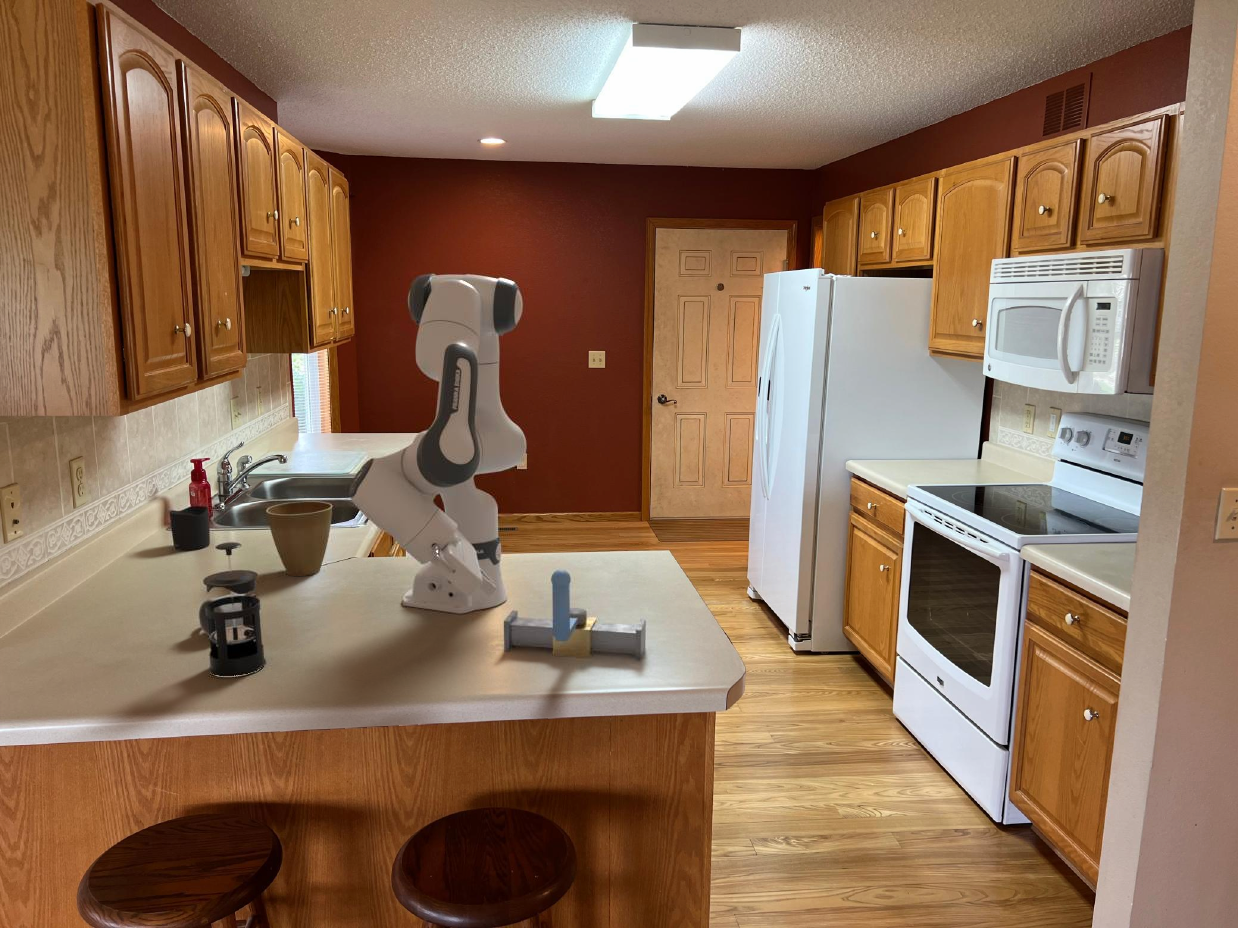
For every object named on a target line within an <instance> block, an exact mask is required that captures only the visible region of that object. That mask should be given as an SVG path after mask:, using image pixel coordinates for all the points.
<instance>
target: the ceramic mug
mask: <svg viewBox="0 0 1238 928" xmlns="http://www.w3.org/2000/svg"><path fill="white" fill-rule="evenodd" d="M245 594H246V593H245ZM245 594H237V593H234V592H233V596H244V595H245ZM225 597H231V593H230V594H226V595H222V596H218V597H217V596H216V597H212V598H208V599H206V600H204V601H203V602H202V603H201V605H200V607H199V611H198V619H199V625H200V628H201V629H202V630H203V632H204V633H205V634H206V635H207V636H209V637H210V634H209V623H208V617H207V616H206V609H205V607H206V605H207V604H208V603H210V602H212V601H215V600H217V599H221V598H225ZM234 609H235V611H241V610H242V603H234ZM214 612H233V611H232V604H226V605H222V606H219V607H216V608H214ZM235 622H236V626H239V625H243V618H238V619H235ZM225 623H226V628H227V627H231V626H234V624H233V619H231V620H225ZM215 628H216V622H215Z"/></svg>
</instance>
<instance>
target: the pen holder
mask: <svg viewBox="0 0 1238 928" xmlns="http://www.w3.org/2000/svg"><path fill="white" fill-rule="evenodd" d="M168 513H169V522H170V528H171V534H172V536H171V537H172V543H173V548H174V549H176V550H177V551H181V552H182V551H185V552H186V551H197V550H202V549H204V548H207V547H209V546H210V544H211V535H210V534H211V531H210V510H209V507H208V506H205V505H191V506H188V507H185V508H184V509H181V510H180V509H179V510H174V509H171V510H169V511H168Z"/></svg>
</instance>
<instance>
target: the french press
mask: <svg viewBox="0 0 1238 928" xmlns="http://www.w3.org/2000/svg"><path fill="white" fill-rule="evenodd" d="M240 547H242V544H241V543H240V542H233V541H230V542H228V541H227V542H223V543H220V544H217V545H216V546H215V549H216V550H220V551H225V555H226V556H227V558H228V561H227V562H228V570H227V571H220V572H216V573H213V574H210V575H208V576H206V577H204V578H203V580H202V583H203V585H205V587H206V594H208V593H209V592H211V590H212V589H214V588H223V589H225V590H228V591H230V594H231V597H225V598H221V599H217V600H215V601H212V602H210V603H208V604H207V605H206V607H205V609H206V616H207V617H208V623H209V634H210V636H209V644H210V651H209V653H208V654H209V655H208V656H209V664H210V665H209V666H210V667H209V669H208V670H209V671H210V672H211V673H212V674H214V675H219V676H234V675H235V676H236V675H243V674H248V673H251V672H254V671H257V670H258V669H260V668H262V667H264V665H265V664H266V665H267V661H266V658H265V649H264V644H263V640H262V639H263V638H262V627H261V614H260V610H261V600H260V598H258V597H257V594H254V593H251V592H252V591H254V590H256V589H257V580H258V578H259V574H258V573H257V572H256V571H253V570H246V569H245V570H244V569H238V570H237V569H235V570H232V561H231V559H232V558H231V556H232V555H233V552H232V551H233V550H234V549H235V550H236V549H239V548H240ZM233 593H237V594H245V595H244V596H233ZM234 603H242V610H241V611H235V609H234ZM226 604H232V611H233V612H214V608H216V607H219V606H222V605H226ZM238 618H243V625H239V626H236V622H235V619H238ZM231 619H233V624H234V626H231V627H227V628H226V623H225V620H231ZM215 622H216V628H215ZM266 665H265V666H266ZM264 668H265V667H264ZM210 672H209V673H210Z"/></svg>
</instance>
